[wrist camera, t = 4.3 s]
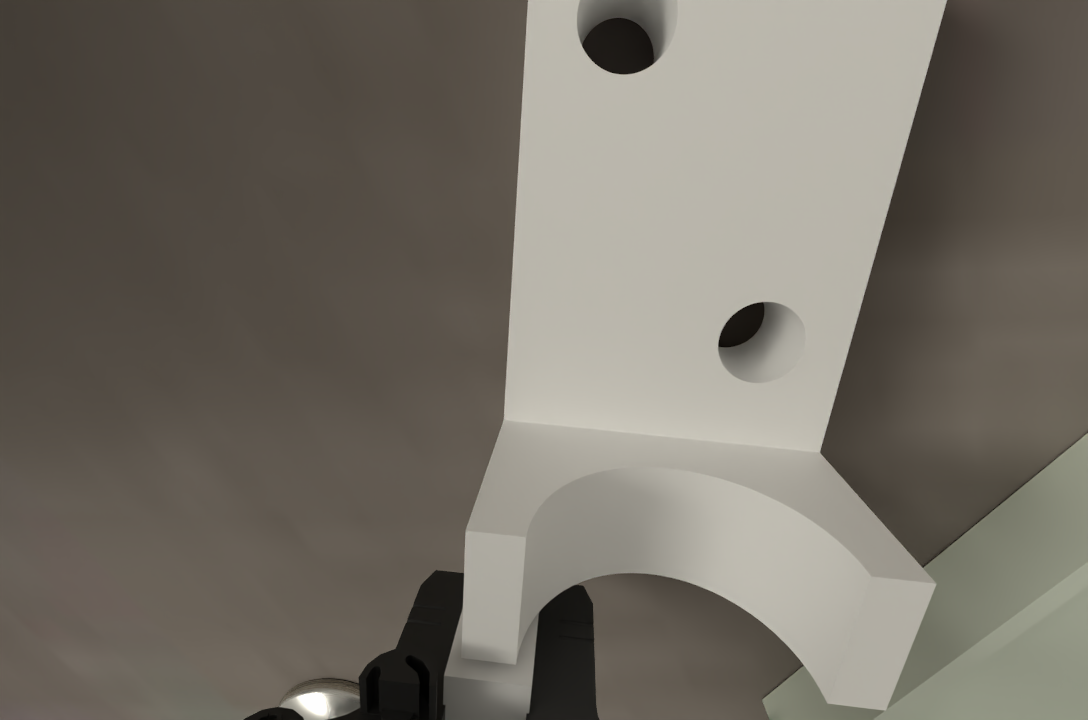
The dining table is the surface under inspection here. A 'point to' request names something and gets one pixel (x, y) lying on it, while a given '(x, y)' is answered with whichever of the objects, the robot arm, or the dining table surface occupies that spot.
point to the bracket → (701, 323)
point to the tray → (993, 618)
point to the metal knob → (323, 699)
